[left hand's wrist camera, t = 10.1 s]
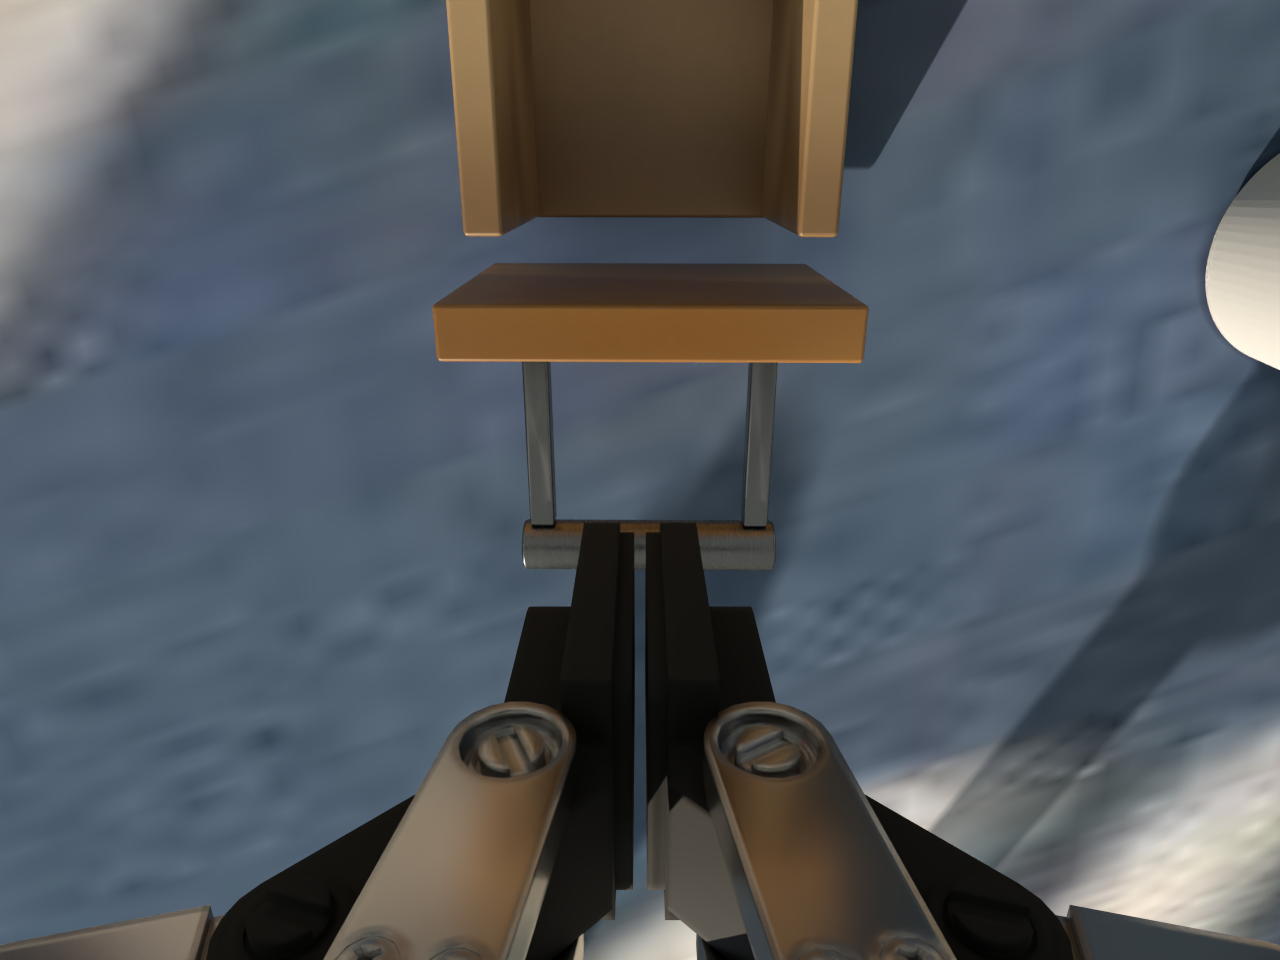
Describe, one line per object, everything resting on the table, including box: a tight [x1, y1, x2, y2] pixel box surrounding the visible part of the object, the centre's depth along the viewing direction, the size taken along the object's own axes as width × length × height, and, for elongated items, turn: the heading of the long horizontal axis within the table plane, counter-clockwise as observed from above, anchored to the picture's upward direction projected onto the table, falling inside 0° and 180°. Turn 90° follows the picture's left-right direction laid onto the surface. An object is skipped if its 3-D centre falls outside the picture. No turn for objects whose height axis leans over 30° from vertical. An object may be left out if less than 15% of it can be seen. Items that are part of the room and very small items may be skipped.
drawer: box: [433, 0, 869, 570], centre depth 18 cm, size 24×9×7 cm, turn 0°
